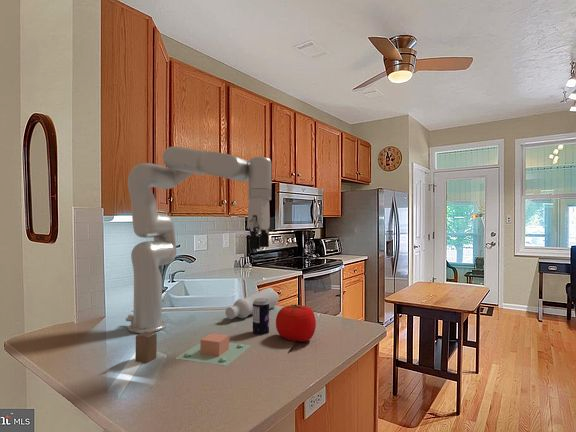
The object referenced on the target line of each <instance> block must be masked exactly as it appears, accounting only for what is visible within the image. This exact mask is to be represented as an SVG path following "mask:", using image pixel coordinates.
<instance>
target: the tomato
mask: <svg viewBox="0 0 576 432" xmlns="http://www.w3.org/2000/svg"><path fill="white" fill-rule="evenodd" d="M316 326H317V321H316V316H315V312H314V311H313V309H312V308H311V307H310V306H308V305H307V306H306V305H301V304H296V303H295V304H293V303H291V304H290V305H285V306H283V307H282V308H280V309H279V311H278V312H277V314H276V317H275V328H276V331H277V333H278V335H279V336H281V337H282V338H284V339H285V340H288V341H294V342H301V343H302V342H307V341H309V340H311V339H312V338H313V337H314V335H315V332H316Z"/></svg>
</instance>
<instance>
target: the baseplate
mask: <svg viewBox="0 0 576 432" xmlns="http://www.w3.org/2000/svg"><path fill="white" fill-rule="evenodd" d="M251 346H252V345H251V344H244V343H235V342H229V349H228V350H227V351H226V352H224V353H223V354H222V355H220V356H212V355H204V354H200V342H199V343H197V344H196V345H194V346H192V347H191V348H190V349H187V350H186V351H184V352H182V353H181V354H179V355H178V356H176V357H175V358H174V359H175V360H180V361H181V360H183V361H189V362H198V363H204V364H211V365H217V366H223V367H224V366H225V367H228V366H229V365H230V364H231V363H232V362H233V361H235V360H236V359H237V358H238V357H240V355H242V354H243V353H244V352H246V351H247V350H248V349H249V348H250V347H251Z"/></svg>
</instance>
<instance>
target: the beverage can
mask: <svg viewBox="0 0 576 432" xmlns="http://www.w3.org/2000/svg"><path fill="white" fill-rule="evenodd" d="M269 333H270V309H269V302H268V299H264V298H259V299H255V300H254V302H253V314H252V334H254V335H260V336H261V335H268V334H269Z"/></svg>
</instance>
